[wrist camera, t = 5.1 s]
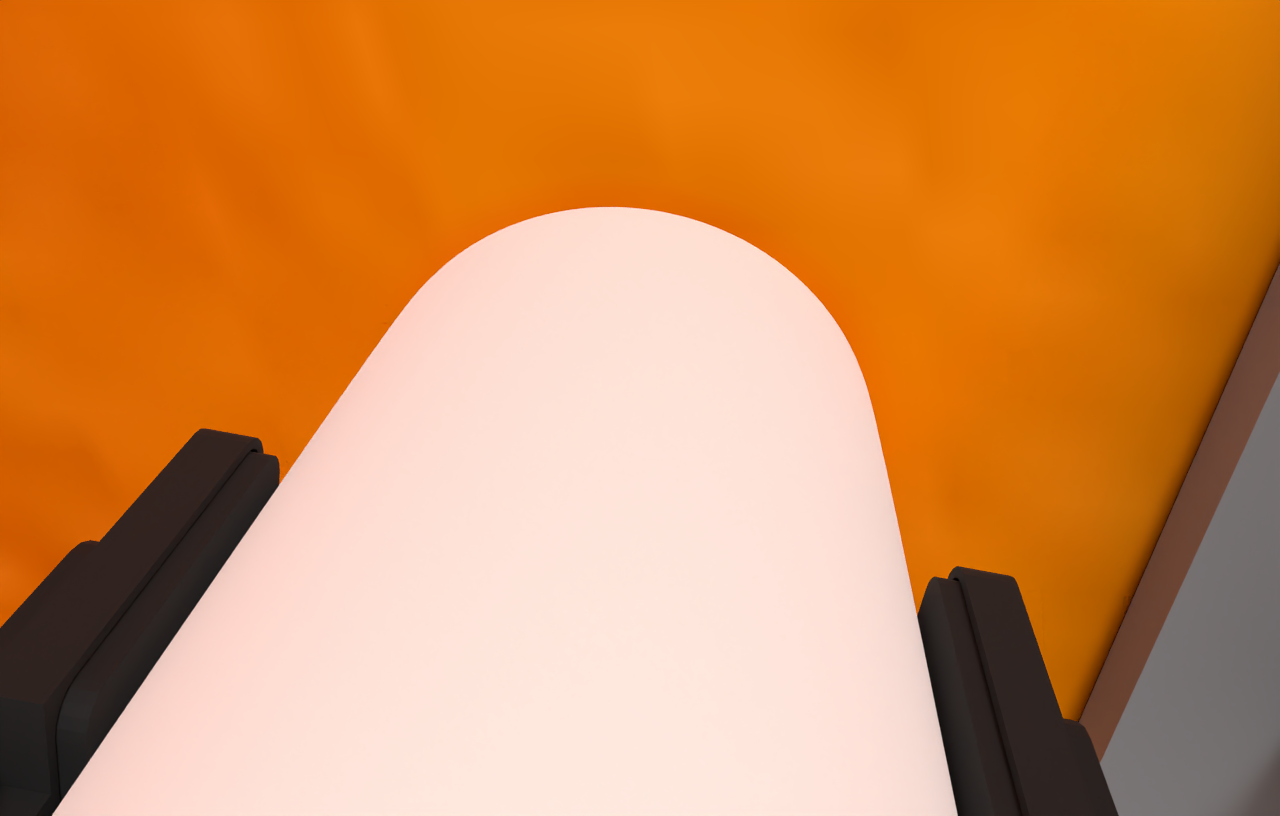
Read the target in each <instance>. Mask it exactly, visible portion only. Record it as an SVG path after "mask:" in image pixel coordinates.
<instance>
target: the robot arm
mask: <svg viewBox="0 0 1280 816" xmlns="http://www.w3.org/2000/svg"><path fill="white" fill-rule="evenodd" d="M279 473H280V470H279V461H278V458H277V457H276V456H273V455H267V454H263V447H262V443H261V441H260V440H259V439H258V438H254V437H249V436H243V435H238V434H233V433H227V432H222V431H216V430H211V429H200V430H199V431H197V432H196V433H195V434H194V435H193V436H192V437H191V438H190V440H189V441H188V442H187V443H186V444H185V445H184V446H183V448H182V449H181V450H180V451H179V452H178V453H177V454H176V455H175V457H174V458H173V459H172V460H171V461H170V462H169V463H168V465H167V466H166V467H165V468H164V469H163V470H162V471H161V472H160V474H159V475H158V476H157V477H156V478H155V479H154V480H153V482H152V483H151V484H150V485H149V486H148V487H147V488H146V489H145V491H144V492H143V493H142V494H141V495H140V496H139V497H138V499H137V500H136V501H135V502H134V503H133V504H132V505H131V506H130V508H129V509H128V510H127V511H126V512H125V513H124V514H123V516H122V517H121V518H120V519H119V520H118V521H117V522H116V523H115V525H114V526H113V527H112V528H111V529H110V530H109V531H108V533H107V534H106V535H105V536H104V537H103V538H102V539H101V540H100V542H97V541H91V540H89V541H85V542H81V543H80V544H78V545H77V546H76V547H75V548H74V549H72V550H71V551H70V552H69V553H68V554H67V555H66V556H65V558H64V559H63V560H62V561H61V562H60V563H59V564H58V565H57V566H56V567H55V569H54V570H53V571H52V572H51V573H50V574H49V575H48V576H47V577H46V578H45V579H44V581H43V582H42V583H41V584H40V585H39V586H38V587H37V588H36V589H35V590H34V592H33V593H32V594H31V595H30V596H29V597H28V598H27V599H26V600H25V601H24V603H23V604H22V605H21V606H20V607H19V608H18V609H17V610H16V611H15V612H14V614H13V615H12V616H11V617H10V618H9V619H8V620H7V621H6V622H5V623H4V625H3V626H2V627H1V628H0V816H52V815H53V813H54V812H55V810H56V809H57V807H58V806H59V804H60V803H61V802H62V800H63V799H64V797H65V796H66V794H67V793H68V791H69V790H70V788H71V787H72V785H73V784H74V783H75V781H76V780H77V778H78V777H79V775H80V774H81V772H82V771H83V769H84V768H85V767H86V765H87V764H88V762H89V761H90V759H91V758H92V756H93V755H94V753H95V752H96V750H97V749H98V748H99V746H100V745H101V743H102V742H103V740H104V739H105V737H106V736H107V734H108V733H109V732H110V730H111V729H112V727H113V726H114V724H115V723H116V721H117V720H118V718H119V717H120V715H121V714H122V713H123V711H124V710H125V708H126V707H127V705H128V704H129V702H130V701H131V699H132V698H133V697H134V695H135V694H136V692H137V691H138V689H139V688H140V686H141V685H142V683H143V682H144V680H145V679H146V678H147V676H148V675H149V673H150V672H151V670H152V669H153V667H154V666H155V664H156V663H157V661H158V660H159V659H160V657H161V656H162V654H163V653H164V651H165V650H166V648H167V647H168V645H169V644H170V643H171V641H172V640H173V638H174V637H175V635H176V634H177V632H178V631H179V630H180V628H181V627H182V625H183V624H184V622H185V621H186V619H187V618H188V616H189V615H190V614H191V612H192V611H193V609H194V608H195V606H196V605H197V603H198V602H199V601H200V599H201V598H202V596H203V595H204V593H205V592H206V590H207V589H208V588H209V586H210V585H211V583H212V582H213V580H214V579H215V577H216V576H217V574H218V573H219V572H220V570H221V569H222V567H223V566H224V564H225V563H226V561H227V560H228V559H229V557H230V556H231V554H232V553H233V551H234V550H235V548H236V547H237V546H238V544H239V543H240V541H241V540H242V538H243V537H244V535H245V534H246V532H247V531H248V530H249V528H250V527H251V525H252V524H253V522H254V521H255V519H256V518H257V517H258V515H259V514H260V512H261V511H262V509H263V508H264V506H265V505H266V504H267V502H268V501H269V499H270V498H271V496H272V495H273V494H274V492H275V491H276V489H277V488H278V486H279ZM917 619H918V623H919V628H920V633H921V638H922V643H923V648H924V652H925V657H926V662H927V667H928V672H929V677H930V682H931V687H932V692H933V697H934V701H935V706H936V711H937V716H938V721H939V726H940V731H941V736H942V741H943V746H944V751H945V755H946V760H947V765H948V770H949V775H950V780H951V785H952V790H953V795H954V800H955V805H956V809H957V814H958V816H1119V815H1118V812H1117V810H1116V807H1115V804H1114V801H1113V799H1112V796H1111V793H1110V790H1109V787H1108V785H1107V782H1106V779H1105V776H1104V774H1103V771H1102V768H1101V765H1100V763H1099V760H1098V757H1097V754H1096V751H1095V749H1094V746H1093V743H1092V740H1091V738H1090V736H1089V734H1088V732H1087V730H1086V728H1085V727H1084V726H1083V725H1082V724H1080V723H1079V722H1077V721H1073V720H1068V719H1063V717H1062V714H1061V711H1060V708H1059V706H1058V703H1057V700H1056V697H1055V694H1054V691H1053V688H1052V685H1051V682H1050V679H1049V676H1048V673H1047V670H1046V667H1045V664H1044V661H1043V658H1042V655H1041V652H1040V649H1039V646H1038V643H1037V641H1036V638H1035V635H1034V632H1033V629H1032V626H1031V623H1030V620H1029V617H1028V614H1027V611H1026V608H1025V605H1024V602H1023V599H1022V596H1021V593H1020V590H1019V587H1018V584H1017V582H1016V581H1015V579H1014V578H1013V577H1011V576H1008V575H1002V574H997V573H991V572H986V571H980V570H975V569H970V568H964V567H959V566H957V567H955V568H954V569H953V570H952V571H951V573H950V574H949V577H948V579H944V578H939V577H933V578H932V579H931V580H930V582H929V584H928V586H927V589H926V591H925V594H924V597H923V600H922V603H921V606H920V609H919V612H918V615H917Z"/></svg>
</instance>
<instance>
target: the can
mask: <svg viewBox="0 0 1280 816" xmlns="http://www.w3.org/2000/svg"><path fill="white" fill-rule="evenodd" d="M52 816H958V814H957V809H956V805H955V800H954V795H953V790H952V785H951V780H950V775H949V770H948V765H947V760H946V755H945V751H944V746H943V741H942V736H941V731H940V726H939V721H938V716H937V711H936V706H935V701H934V697H933V692H932V687H931V682H930V677H929V672H928V667H927V662H926V657H925V652H924V648H923V643H922V638H921V633H920V628H919V623H918V619H917V614H916V609H915V604H914V599H913V594H912V590H911V585H910V580H909V575H908V570H907V565H906V561H905V556H904V551H903V546H902V541H901V536H900V532H899V527H898V522H897V517H896V513H895V508H894V503H893V499H892V494H891V489H890V484H889V480H888V475H887V470H886V466H885V461H884V457H883V452H882V448H881V443H880V439H879V434H878V430H877V425H876V421H875V416H874V412H873V408H872V405H871V401H870V397H869V393H868V390H867V386H866V383H865V380H864V378H863V375H862V372H861V370H860V367H859V365H858V362H857V360H856V357H855V355H854V353H853V351H852V349H851V347H850V345H849V343H848V341H847V340H846V338H845V336H844V334H843V333H842V331H841V329H840V328H839V326H838V325H837V323H836V322H835V320H834V319H833V317H832V316H831V315H830V313H829V312H828V311H827V309H826V308H825V307H824V305H823V304H822V303H821V302H820V301H819V300H818V298H817V297H816V296H815V295H814V294H813V293H812V292H811V291H810V290H809V289H808V288H807V287H806V286H805V285H804V284H803V283H802V282H801V281H800V280H799V279H798V278H797V277H796V276H795V275H793V274H792V273H791V272H790V271H789V270H788V269H786V268H785V267H784V266H782V265H781V264H780V263H779V262H777V261H776V260H774V259H773V258H772V257H770V256H769V255H767V254H766V253H764V252H763V251H761V250H759V249H758V248H756V247H755V246H753V245H751V244H749V243H748V242H746V241H744V240H742V239H740V238H738V237H736V236H734V235H732V234H730V233H728V232H725V231H723V230H721V229H718V228H716V227H713V226H711V225H708V224H705V223H702V222H699V221H696V220H693V219H690V218H686V217H683V216H679V215H674V214H670V213H665V212H660V211H654V210H647V209H638V208H625V207H596V208H583V209H573V210H567V211H561V212H556V213H551V214H546V215H543V216H539V217H535V218H532V219H529V220H525V221H522V222H520V223H517V224H514V225H511V226H509V227H507V228H504V229H502V230H500V231H497V232H495V233H493V234H491V235H489V236H487V237H486V238H484V239H482V240H480V241H478V242H477V243H475V244H473V245H472V246H470V247H469V248H467V249H465V250H464V251H463V252H461V253H460V254H458V255H457V256H456V257H454V258H453V259H452V260H450V261H449V262H448V263H447V264H446V265H444V266H443V267H442V268H441V269H440V270H439V271H438V272H437V273H436V274H434V275H433V276H432V277H431V278H430V279H429V280H428V281H427V282H426V283H425V284H424V285H423V287H422V288H421V289H420V290H419V291H418V292H417V293H416V294H415V296H414V297H413V298H412V299H411V300H410V302H409V303H408V304H407V306H406V307H405V308H404V309H403V311H402V312H401V313H400V315H399V316H398V317H397V319H396V320H395V321H394V323H393V324H392V325H391V327H390V328H389V330H388V331H387V332H386V334H385V335H384V337H383V338H382V339H381V341H380V342H379V344H378V345H377V346H376V348H375V349H374V350H373V352H372V353H371V355H370V356H369V357H368V359H367V360H366V362H365V363H364V365H363V366H362V367H361V369H360V370H359V372H358V373H357V375H356V376H355V377H354V379H353V380H352V382H351V383H350V384H349V386H348V387H347V389H346V390H345V392H344V393H343V394H342V396H341V397H340V399H339V400H338V402H337V403H336V404H335V406H334V407H333V409H332V410H331V412H330V413H329V414H328V416H327V417H326V419H325V420H324V422H323V423H322V424H321V426H320V427H319V429H318V430H317V432H316V433H315V435H314V436H313V437H312V439H311V440H310V442H309V443H308V445H307V446H306V447H305V449H304V450H303V452H302V453H301V455H300V456H299V458H298V459H297V460H296V462H295V463H294V465H293V466H292V468H291V469H290V470H289V472H288V473H287V475H286V476H285V478H284V479H283V481H282V482H281V483H280V485H279V486H278V488H277V489H276V491H275V492H274V494H273V495H272V496H271V498H270V499H269V501H268V502H267V504H266V505H265V506H264V508H263V509H262V511H261V512H260V514H259V515H258V517H257V518H256V519H255V521H254V522H253V524H252V525H251V527H250V528H249V530H248V531H247V532H246V534H245V535H244V537H243V538H242V540H241V541H240V543H239V544H238V546H237V547H236V548H235V550H234V551H233V553H232V554H231V556H230V557H229V559H228V560H227V561H226V563H225V564H224V566H223V567H222V569H221V570H220V572H219V573H218V574H217V576H216V577H215V579H214V580H213V582H212V583H211V585H210V586H209V588H208V589H207V590H206V592H205V593H204V595H203V596H202V598H201V599H200V601H199V602H198V603H197V605H196V606H195V608H194V609H193V611H192V612H191V614H190V615H189V616H188V618H187V619H186V621H185V622H184V624H183V625H182V627H181V628H180V630H179V631H178V632H177V634H176V635H175V637H174V638H173V640H172V641H171V643H170V644H169V645H168V647H167V648H166V650H165V651H164V653H163V654H162V656H161V657H160V659H159V660H158V661H157V663H156V664H155V666H154V667H153V669H152V670H151V672H150V673H149V675H148V676H147V678H146V679H145V680H144V682H143V683H142V685H141V686H140V688H139V689H138V691H137V692H136V694H135V695H134V697H133V698H132V699H131V701H130V702H129V704H128V705H127V707H126V708H125V710H124V711H123V713H122V714H121V715H120V717H119V718H118V720H117V721H116V723H115V724H114V726H113V727H112V729H111V730H110V732H109V733H108V734H107V736H106V737H105V739H104V740H103V742H102V743H101V745H100V746H99V748H98V749H97V750H96V752H95V753H94V755H93V756H92V758H91V759H90V761H89V762H88V764H87V765H86V767H85V768H84V769H83V771H82V772H81V774H80V775H79V777H78V778H77V780H76V781H75V783H74V784H73V785H72V787H71V788H70V790H69V791H68V793H67V794H66V796H65V797H64V799H63V800H62V802H61V803H60V804H59V806H58V807H57V809H56V810H55V812H54V813H53V815H52Z"/></svg>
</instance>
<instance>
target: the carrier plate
mask: <svg viewBox="0 0 1280 816" xmlns="http://www.w3.org/2000/svg"><path fill="white" fill-rule="evenodd" d="M1079 723H1080V724H1082V725H1083V726H1084V727H1085V728H1086V730H1087V732H1088V734H1089V736H1090V738H1091V740H1092V743H1093V746H1094V749H1095V751H1096V754H1097V757H1098V760H1099V763H1100V765H1101V768H1102V771H1103V774H1104V776H1105V779H1106V782H1107V785H1108V787H1109V790H1110V793H1111V796H1112V799H1113V801H1114V804H1115V807H1116V810H1117V812H1118V815H1119V816H1280V264H1279V266H1278V268H1277V271H1276V273H1275V275H1274V278H1273V280H1272V282H1271V284H1270V287H1269V289H1268V291H1267V294H1266V296H1265V298H1264V300H1263V303H1262V305H1261V307H1260V310H1259V312H1258V314H1257V316H1256V319H1255V321H1254V323H1253V326H1252V328H1251V330H1250V332H1249V335H1248V337H1247V339H1246V342H1245V344H1244V346H1243V348H1242V351H1241V353H1240V355H1239V357H1238V360H1237V362H1236V364H1235V367H1234V369H1233V371H1232V373H1231V376H1230V378H1229V380H1228V383H1227V385H1226V387H1225V389H1224V392H1223V394H1222V396H1221V399H1220V401H1219V403H1218V405H1217V408H1216V410H1215V412H1214V415H1213V417H1212V419H1211V421H1210V424H1209V426H1208V428H1207V431H1206V433H1205V435H1204V437H1203V440H1202V442H1201V444H1200V447H1199V449H1198V451H1197V453H1196V456H1195V458H1194V460H1193V463H1192V465H1191V467H1190V469H1189V472H1188V474H1187V476H1186V478H1185V481H1184V483H1183V485H1182V488H1181V490H1180V492H1179V494H1178V497H1177V499H1176V501H1175V504H1174V506H1173V508H1172V510H1171V513H1170V515H1169V517H1168V520H1167V522H1166V524H1165V526H1164V529H1163V531H1162V533H1161V536H1160V538H1159V540H1158V542H1157V545H1156V547H1155V549H1154V552H1153V554H1152V556H1151V558H1150V561H1149V563H1148V565H1147V568H1146V570H1145V572H1144V574H1143V577H1142V579H1141V581H1140V583H1139V586H1138V588H1137V590H1136V593H1135V595H1134V597H1133V599H1132V602H1131V604H1130V606H1129V609H1128V611H1127V613H1126V615H1125V618H1124V620H1123V622H1122V625H1121V627H1120V629H1119V631H1118V634H1117V636H1116V638H1115V641H1114V643H1113V645H1112V647H1111V650H1110V652H1109V654H1108V657H1107V659H1106V661H1105V663H1104V666H1103V668H1102V670H1101V673H1100V675H1099V677H1098V679H1097V682H1096V684H1095V686H1094V689H1093V691H1092V693H1091V695H1090V698H1089V700H1088V702H1087V704H1086V707H1085V709H1084V711H1083V714H1082V716H1081V718H1080V720H1079Z"/></svg>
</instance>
